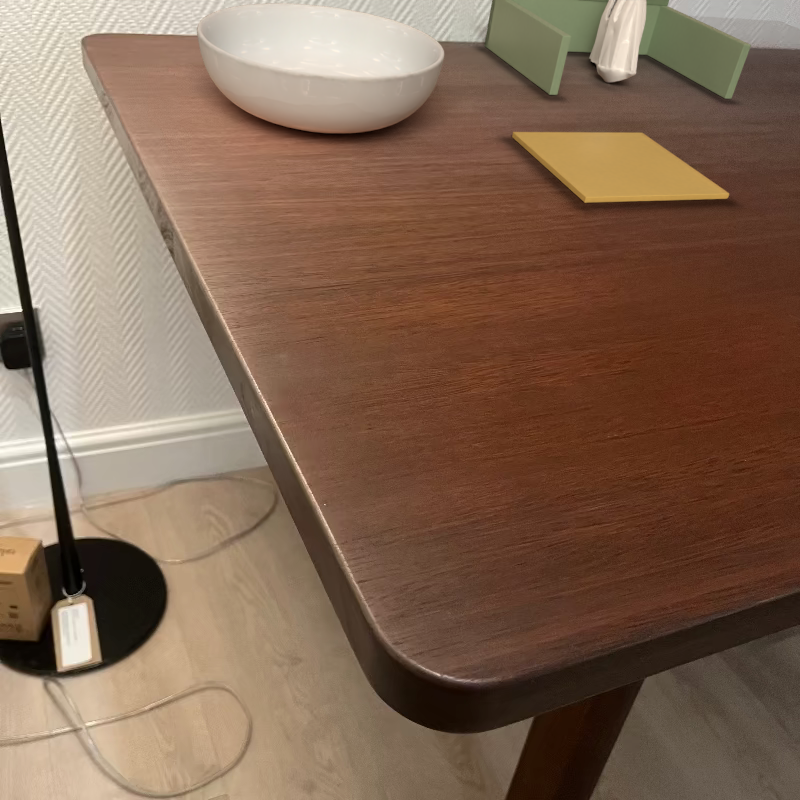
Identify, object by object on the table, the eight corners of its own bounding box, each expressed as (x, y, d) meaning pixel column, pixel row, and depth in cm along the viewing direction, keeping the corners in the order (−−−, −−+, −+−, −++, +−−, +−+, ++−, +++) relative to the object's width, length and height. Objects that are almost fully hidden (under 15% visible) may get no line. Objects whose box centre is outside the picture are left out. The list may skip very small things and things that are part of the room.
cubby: (648, 52, 107) (664, -4, 103) (731, 99, 94) (754, 37, 90) (483, 45, 100) (494, -15, 95) (549, 95, 86) (565, 27, 82)
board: (640, 137, 79) (642, 132, 79) (727, 199, 69) (729, 193, 68) (511, 137, 74) (512, 131, 74) (584, 203, 64) (586, 197, 64)
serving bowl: (151, 95, 71) (146, 11, 67) (329, 68, 84) (334, -4, 80) (303, 181, 61) (308, 88, 57) (480, 135, 74) (495, 56, 70)
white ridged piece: (631, 92, 91) (663, -16, 84) (595, 86, 91) (623, -22, 85) (620, 63, 101) (648, -36, 94) (587, 58, 101) (612, -41, 94)
